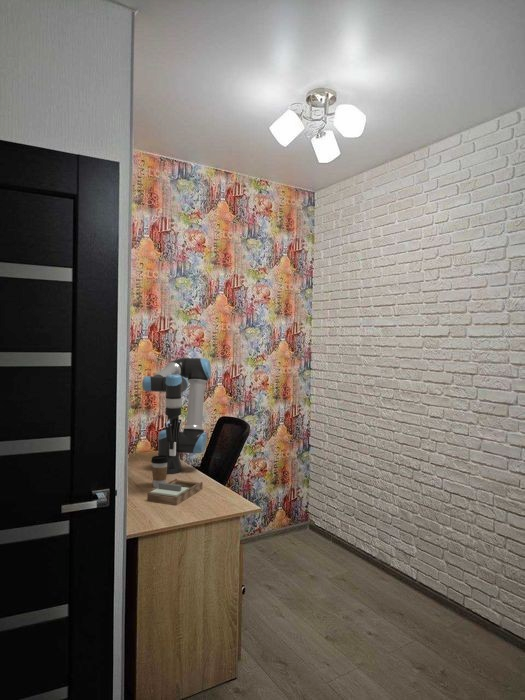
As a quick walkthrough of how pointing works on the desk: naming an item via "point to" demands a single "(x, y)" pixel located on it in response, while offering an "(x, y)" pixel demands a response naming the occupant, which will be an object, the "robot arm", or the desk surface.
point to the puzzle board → (193, 489)
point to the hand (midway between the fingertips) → (172, 455)
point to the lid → (169, 489)
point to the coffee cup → (159, 470)
